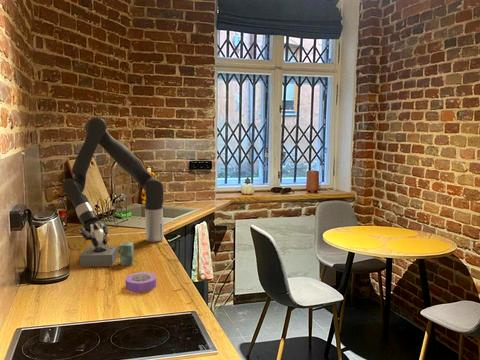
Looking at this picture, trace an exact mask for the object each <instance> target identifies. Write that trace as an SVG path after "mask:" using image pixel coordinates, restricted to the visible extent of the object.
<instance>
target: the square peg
mask: <svg viewBox="0 0 480 360" xmlns="http://www.w3.org/2000/svg"><path fill="white" fill-rule="evenodd" d="M119 251H120V252H119V253H120V256H119V257H120V266H132V265H133V264H134V262H135V261H134V260H135V259H134V258H135V257H134V256H135V255H134V254H135V253H134V242H133V241H131V242H130V241H129V242H126V241H125V242H121V244H120V245H119Z"/></svg>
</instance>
